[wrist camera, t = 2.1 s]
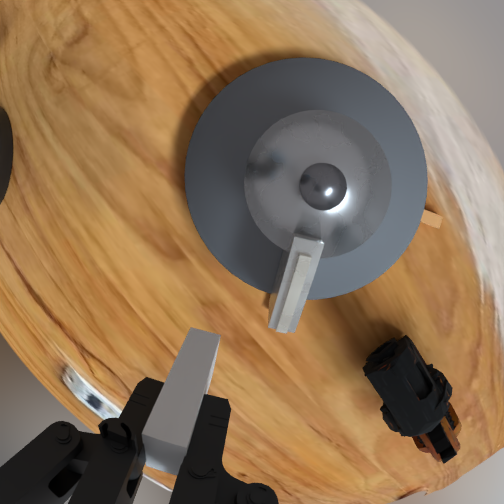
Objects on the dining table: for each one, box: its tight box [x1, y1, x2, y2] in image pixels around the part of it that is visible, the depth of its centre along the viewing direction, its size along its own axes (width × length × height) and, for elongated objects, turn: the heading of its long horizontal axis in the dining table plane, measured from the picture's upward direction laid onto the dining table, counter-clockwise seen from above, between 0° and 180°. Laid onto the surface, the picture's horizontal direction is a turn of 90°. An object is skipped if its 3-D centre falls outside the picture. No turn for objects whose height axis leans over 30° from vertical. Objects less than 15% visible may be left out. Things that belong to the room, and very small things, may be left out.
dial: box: [244, 110, 392, 333], centre depth 19 cm, size 16×10×4 cm, turn 167°
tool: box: [363, 335, 462, 463], centre depth 25 cm, size 8×23×15 cm, turn 41°
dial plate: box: [185, 58, 443, 300], centre depth 22 cm, size 22×22×2 cm
